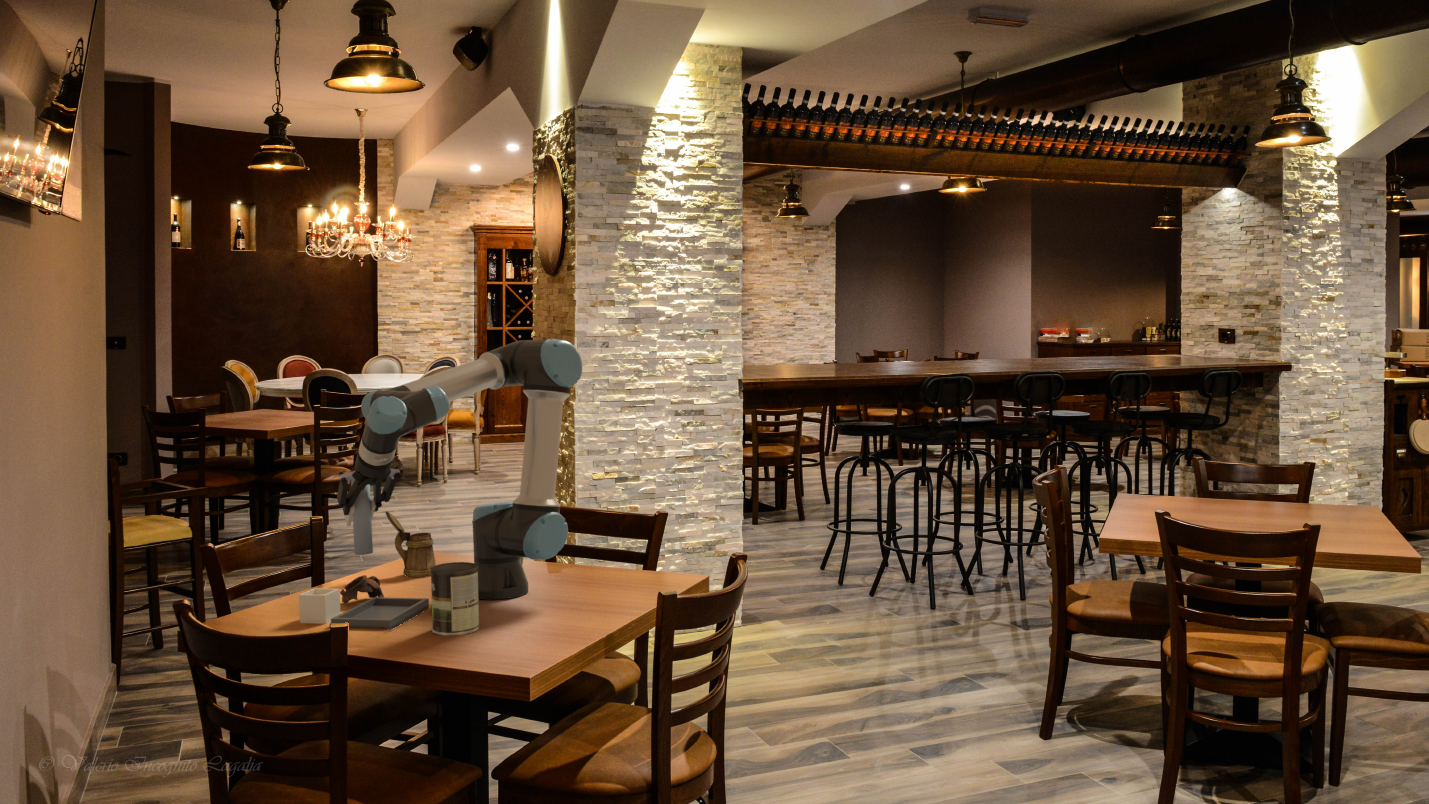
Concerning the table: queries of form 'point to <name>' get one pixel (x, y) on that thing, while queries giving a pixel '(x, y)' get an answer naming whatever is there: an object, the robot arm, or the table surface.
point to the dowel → (362, 522)
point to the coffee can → (454, 598)
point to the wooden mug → (414, 550)
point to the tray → (382, 612)
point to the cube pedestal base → (319, 605)
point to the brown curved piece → (361, 588)
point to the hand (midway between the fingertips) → (357, 519)
